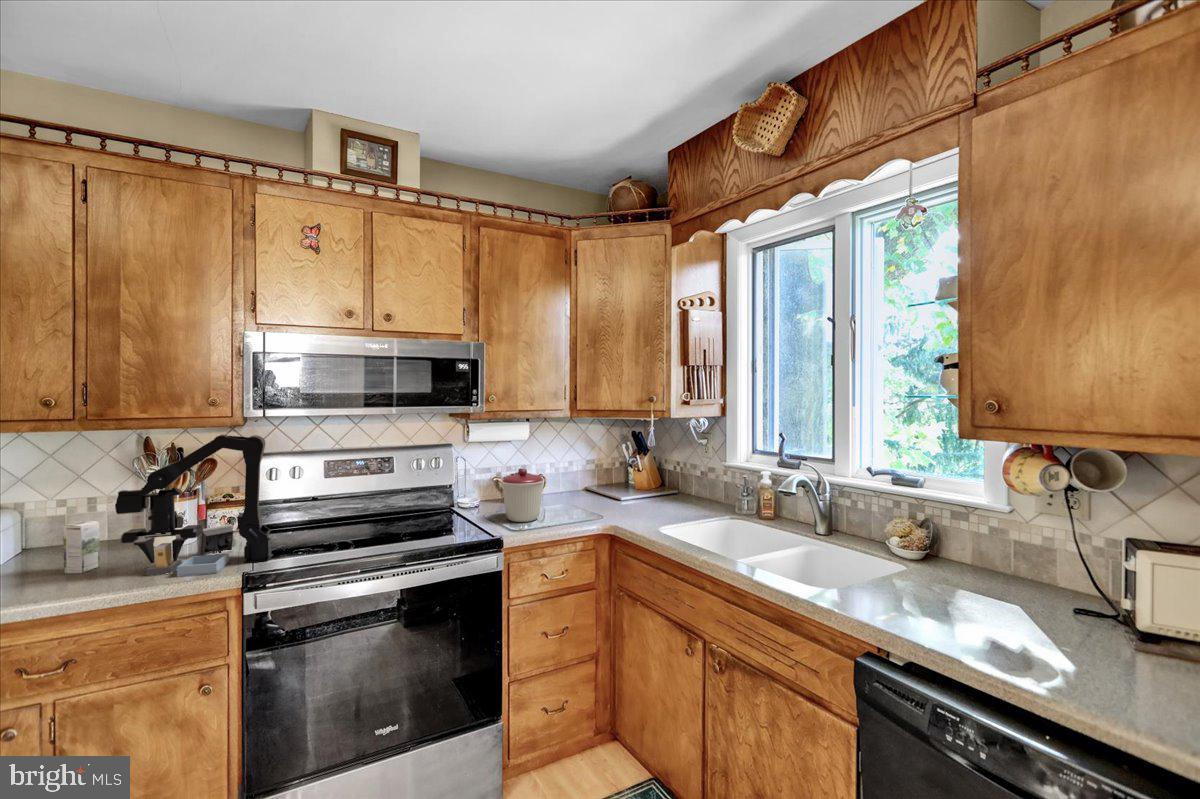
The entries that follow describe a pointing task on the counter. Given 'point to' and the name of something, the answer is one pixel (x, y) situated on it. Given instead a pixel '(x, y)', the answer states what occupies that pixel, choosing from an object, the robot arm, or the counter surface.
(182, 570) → the parts tray
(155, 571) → the block
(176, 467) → the robot arm
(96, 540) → the syrup box
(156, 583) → the counter surface
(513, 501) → the canister
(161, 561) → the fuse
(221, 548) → the electrical switch
